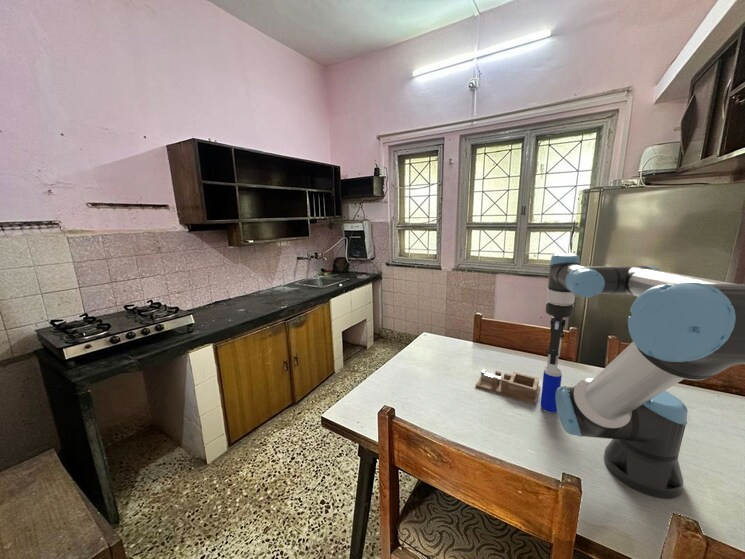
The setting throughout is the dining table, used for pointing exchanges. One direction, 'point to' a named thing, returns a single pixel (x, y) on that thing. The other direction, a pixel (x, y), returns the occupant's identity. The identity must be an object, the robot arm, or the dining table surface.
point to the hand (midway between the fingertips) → (553, 363)
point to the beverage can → (550, 390)
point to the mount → (513, 386)
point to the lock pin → (489, 376)
